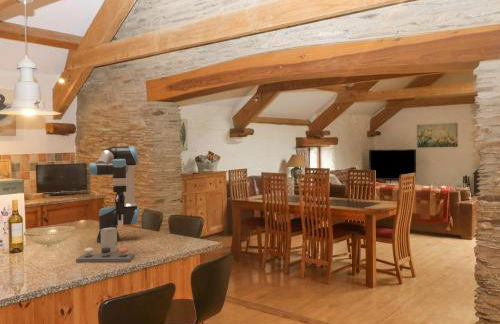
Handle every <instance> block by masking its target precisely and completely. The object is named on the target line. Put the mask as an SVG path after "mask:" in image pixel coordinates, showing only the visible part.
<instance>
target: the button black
mask: <svg viewBox="0 0 500 324" xmlns="http://www.w3.org/2000/svg"><path fill="white" fill-rule="evenodd" d="M101 250H102V253H101V254H104V257H108V252H110V248H108V247H107V248H102V249H101V248H100V251H101Z"/></svg>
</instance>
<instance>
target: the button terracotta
mask: <svg viewBox="0 0 500 324" xmlns="http://www.w3.org/2000/svg"><path fill="white" fill-rule="evenodd" d="M128 251H129V250H128V247H125V246H123V247H119V248H118V253H119V254H121V257H126V254H127V253H128Z"/></svg>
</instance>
